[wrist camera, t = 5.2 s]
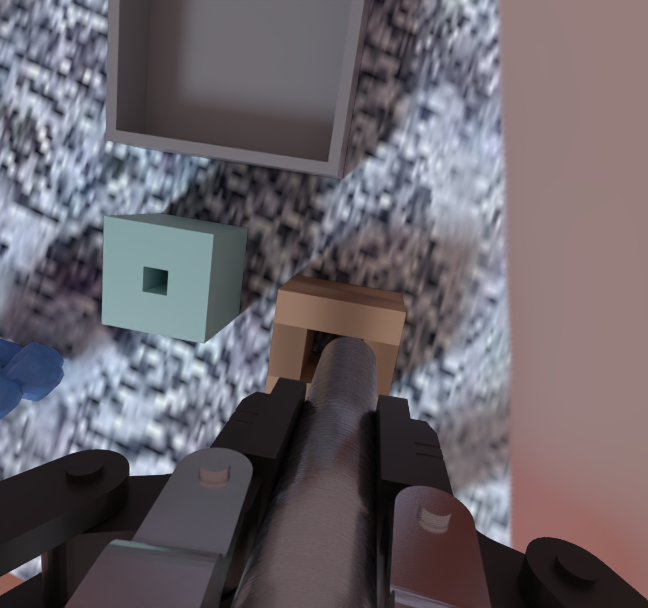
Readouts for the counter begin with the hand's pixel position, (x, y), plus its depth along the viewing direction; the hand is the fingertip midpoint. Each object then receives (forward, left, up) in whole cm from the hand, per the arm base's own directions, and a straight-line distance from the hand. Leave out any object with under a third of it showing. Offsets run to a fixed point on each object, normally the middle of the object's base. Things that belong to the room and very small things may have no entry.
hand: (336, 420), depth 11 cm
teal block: (-11, 0, -17) cm, 20 cm away
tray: (-9, +13, -17) cm, 23 cm away
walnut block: (-1, -3, -17) cm, 17 cm away
